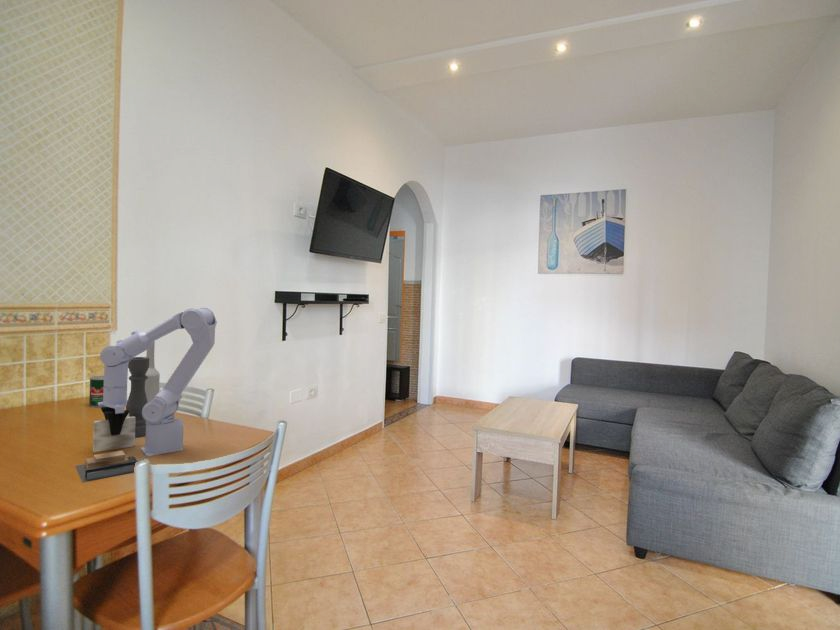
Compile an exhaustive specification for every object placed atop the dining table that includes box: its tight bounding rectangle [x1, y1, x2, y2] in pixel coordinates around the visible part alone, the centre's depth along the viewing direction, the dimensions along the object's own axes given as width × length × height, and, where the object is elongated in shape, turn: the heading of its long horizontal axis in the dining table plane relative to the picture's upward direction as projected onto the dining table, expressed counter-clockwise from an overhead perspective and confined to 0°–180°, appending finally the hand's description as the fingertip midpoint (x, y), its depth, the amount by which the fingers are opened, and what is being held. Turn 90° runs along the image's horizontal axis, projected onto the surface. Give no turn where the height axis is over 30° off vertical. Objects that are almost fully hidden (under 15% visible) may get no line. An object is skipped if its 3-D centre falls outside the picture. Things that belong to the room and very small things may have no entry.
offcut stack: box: [84, 450, 129, 469], centre depth 120 cm, size 9×5×2 cm, turn 134°
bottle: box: [145, 340, 161, 402], centre depth 165 cm, size 7×7×28 cm
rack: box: [74, 455, 138, 484], centre depth 117 cm, size 13×13×2 cm
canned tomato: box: [88, 375, 105, 408], centre depth 178 cm, size 8×8×11 cm
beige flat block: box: [92, 416, 136, 453], centre depth 131 cm, size 10×2×9 cm, turn 134°
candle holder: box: [125, 356, 149, 439], centre depth 144 cm, size 6×6×25 cm
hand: (113, 432), depth 131 cm, fingers open, 4 cm apart
